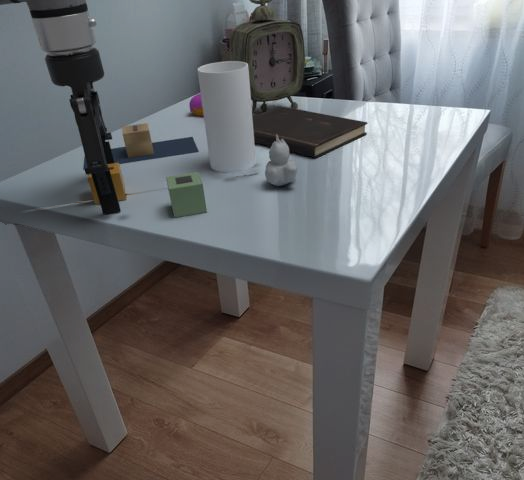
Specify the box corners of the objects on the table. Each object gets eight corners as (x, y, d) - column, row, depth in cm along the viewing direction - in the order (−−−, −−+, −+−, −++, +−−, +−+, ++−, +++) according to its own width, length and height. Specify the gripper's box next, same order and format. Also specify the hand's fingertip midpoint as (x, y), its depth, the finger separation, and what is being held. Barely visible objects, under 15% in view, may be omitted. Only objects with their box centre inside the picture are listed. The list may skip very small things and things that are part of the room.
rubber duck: (282, 175, 86) (280, 126, 81) (308, 185, 82) (307, 134, 77) (257, 184, 84) (253, 134, 79) (283, 195, 80) (280, 143, 75)
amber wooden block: (95, 204, 82) (87, 177, 80) (96, 193, 86) (88, 166, 83) (126, 199, 83) (119, 172, 80) (125, 188, 87) (118, 161, 84)
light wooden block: (128, 158, 97) (122, 133, 94) (127, 150, 101) (121, 126, 98) (154, 154, 98) (148, 129, 95) (152, 146, 102) (147, 122, 99)
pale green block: (174, 217, 76) (168, 188, 74) (171, 204, 80) (165, 176, 77) (207, 212, 77) (202, 182, 74) (202, 199, 81) (198, 171, 78)
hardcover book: (281, 117, 112) (280, 106, 111) (366, 134, 99) (367, 122, 98) (228, 137, 104) (227, 125, 103) (314, 159, 91) (314, 146, 90)
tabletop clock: (249, 123, 110) (237, -17, 94) (231, 114, 117) (217, -19, 101) (305, 110, 115) (303, -26, 99) (285, 102, 121) (280, -27, 105)
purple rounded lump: (214, 104, 124) (212, 84, 121) (243, 110, 119) (241, 89, 116) (182, 115, 119) (179, 94, 116) (211, 122, 113) (208, 100, 110)
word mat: (83, 172, 95) (82, 169, 94) (85, 155, 102) (84, 152, 102) (199, 154, 98) (199, 151, 97) (192, 139, 105) (192, 136, 105)
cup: (255, 173, 88) (246, 70, 78) (208, 176, 88) (194, 74, 78) (256, 156, 94) (249, 59, 84) (213, 159, 95) (200, 63, 84)
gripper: (96, 62, 62) (137, 222, 76) (98, 34, 81) (131, 166, 94) (33, 70, 61) (86, 231, 75) (50, 40, 80) (90, 173, 93)
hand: (111, 195), depth 85 cm, fingers open, 13 cm apart
